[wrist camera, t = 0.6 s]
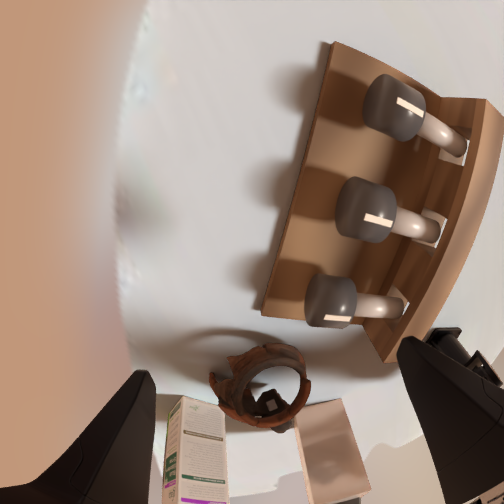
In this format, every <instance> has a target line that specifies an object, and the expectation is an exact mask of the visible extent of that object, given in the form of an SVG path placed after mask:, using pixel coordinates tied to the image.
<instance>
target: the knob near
mask: <svg viewBox="0 0 504 504" xmlns="http://www.w3.org/2000/svg"><path fill="white" fill-rule="evenodd" d="M362 115H363V121H364V123H365V125H366V126H367V127H369V128H371V129H374V130H376V131H378V132H381V133H383V134H385V135H387V136H390V137H392V138H394V139H396V140H398V141H401V142H405V141H408V140H410V139H412V138H413V137H414V136H415V135H416V134H417V135H419V136H421V137H423V138H424V139H426V140H428V141H430V142H431V143H433V144H435V145H437V146H438V147H440V148H442V149H443V150H445V151H446V152H448V153H450V154H451V155H453V156H454V157H456V158H459V157H462V156H463V155H464V154H465V152H466V149H467V142H466V139H465V138H464V137H463V136H461V135H460V134H459V133H457V132H456V131H454V130H453V129H452V128H450V127H449V126H447V125H446V124H444V123H443V122H441V121H440V120H438V119H437V118H435V117H434V116H432V115H430V114H429V113H427V112H426V104H425V99H424V97H423V95H422V94H421V93H420V92H419V91H417V90H415V89H414V88H412V87H410V86H408V85H407V84H405V83H403V82H401V81H400V80H398V79H396V78H394V77H392V76H390V75H388V74H382V75H380V76H378V77H377V78H376V79H375V80H374V81H373V82H372V83H371V85H370V87H369V88H368V90H367V93H366V95H365V98H364V102H363V109H362Z"/></svg>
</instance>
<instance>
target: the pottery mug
mask: <svg viewBox="0 0 504 504" xmlns="http://www.w3.org/2000/svg"><path fill="white" fill-rule="evenodd" d="M227 360H228V361H229V364H230V367H231V369H232V372H233V375H234V378H233V379H224V380H223V381H221V382H219V383H218V381H217V380H216V378H215V377H214V374H213V373H209V375H210V376H209V383H210V386H211V388H212V390H213V391H214V393H215V395H216V396H217V397H218V399H219V401H218V402H219V404H218V406H219V408H220V409H221V410H222V411H223V412H224V413H226V414H227V415H228V416H229V417H231V418H233V419H235V420H238V421H241V422H244V423H247V424H249V425H252V426H256V427H259V428H271V429H272V430H273V431H275V432H277V433H284V432H285V431H286V430H288V429H289V428H290V426H291V424H292V423H291V419H292V418H293V417H294V416H296V415H297V414H298V413H299V412H300V410H301V409H302V408H303V406H304V405H305V403H306V402H307V399H308V397H309V394H310V391H311V381H310V380H308V379H307V376H306V367H305V362H304V359H303V357H302V355H301V354H300V352H299V351H298V350H297V349H296V348H295V347H293V346H290V345H286V344H280V343H266V344H264V345H263V348H262V347H260V346H257V347H254V348H252V349H251V350H250V351H248V352H246V353H244V354H242V355H239V356H230V357H227ZM274 366H287V367H291V368H293V369H294V370H296V372H298V373H299V374H300V389H299V392H298V394H297V396H296V398H295V400H294V401H293V402H292V404H291V405H289V404H287V402H286V401H285V400H283V399H282V398H281V397H280V394H279V393H277V391H276V389H271V390H269V391H266V392H263V393H262V394H261V396H260V397H259V399H258V400H257V402H256V401H255V399H254V397H253V396H252V394H251V390H250V389H249V388H248V389H245V388H246V386H247V384H248V382H250V380H251V379H252V378H254V377H255V376H256V375H257V374H258V373H260V372H261V371H263V370H265V369H267V368H270V367H274ZM255 416H262V418H257V417H255Z"/></svg>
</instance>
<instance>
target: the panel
mask: <svg viewBox="0 0 504 504" xmlns="http://www.w3.org/2000/svg"><path fill="white" fill-rule="evenodd" d="M382 74H388V75H390V76H392V77H394V78H396V79H398V80H400V81H401V82H403V83H405V84H407V85H408V86H410V87H412V88H414V89H415V90H417V91H419V92H420V93H421V94H422V95H423V97H424V99H425V104H426V112H427V113H429V114H430V115H432V116H434V117H435V118H437V119H438V120H440V121H441V122H443V123H444V124H446V125H447V126H449V127H450V128H452V129H453V130H454V131H456V132H457V133H459V134H460V135H461V136H463V137H464V138H465V139H466V142H467V140H470V143H469V147H468V152H467V156H466V160H465V164H464V166H461V165H462V161H463V157H464V155H463V156H462V157H459V158H456V157H454V156H453V155H451V154H450V153H448V152H446V151H445V150H443V149H442V148H440V147H438V146H437V145H435V144H433V143H431V142H430V141H428V140H426V139H424V138H423V137H421V136H419V135H417V134H416V135H415V136H414V137H413V138H412V139H410V140H408V141H405V142H401V141H398V140H396V139H394V138H392V137H390V136H387V135H385V134H383V133H381V132H378V131H376V130H374V129H371V128H369V127H367V126H366V125H365V123H364V121H363V115H362V109H363V102H364V98H365V95H366V93H367V90H368V88H369V87H370V85H371V83H372V82H373V81H374V80H375V79H376V78H377V77H378V76H380V75H382ZM503 135H504V117H503V116H502V115H501V114H500V113H499V112H498V110H497V109H496V108H495V107H494V106H493V105H492V104H491V103H490V102H489V101H488V100H487V99H477V98H453V97H440V96H439V95H437V94H436V93H434V92H433V91H431V90H430V89H428V88H427V87H425V86H424V85H422V84H420V83H419V82H417V81H416V80H414V79H412V78H411V77H409V76H407V75H405V74H404V73H402V72H400V71H398V70H397V69H395V68H393V67H391V66H389V65H387V64H385V63H383V62H381V61H379V60H377V59H375V58H373V57H371V56H369V55H367V54H365V53H362V52H360V51H358V50H356V49H353V48H351V47H349V46H346V45H344V44H341V43H339V42H336V41H335V42H334V43H332V44H331V48H330V53H329V57H328V61H327V66H326V70H325V74H324V79H323V83H322V87H321V91H320V95H319V99H318V104H317V108H316V112H315V116H314V120H313V124H312V128H311V132H310V136H309V139H308V143H307V147H306V151H305V155H304V159H303V163H302V166H301V170H300V174H299V178H298V181H297V185H296V189H295V192H294V196H293V200H292V203H291V207H290V211H289V214H288V218H287V221H286V225H285V229H284V232H283V236H282V239H281V243H280V246H279V250H278V253H277V257H276V260H275V263H274V267H273V270H272V274H271V277H270V280H269V284H268V287H267V290H266V294H265V297H264V300H263V304H262V307H261V315H262V316H267V317H276V318H285V319H295V320H305V321H306V319H305V314H304V301H305V294H306V290H307V287H308V284H309V282H310V280H311V278H312V277H313V276H314V275H315V274H317V273H320V274H326V275H333V276H339V277H346V278H350V279H351V280H352V281H353V282H354V284H355V286H356V290H357V293H364V294H372V295H381V296H389V297H398V298H401V299H402V300H403V302H404V308H405V306H406V304H407V302H409V303H410V304H409V306H408V308H407V309H406V311H405V313H404V315H402V316H401V317H400V318H398V319H389V318H373V317H358V316H354V317H353V319H352V321H351V322H350V324H358V325H362V326H363V328H364V329H365V331H366V333H367V335H368V336H369V338H370V340H371V342H372V343H373V345H374V347H375V349H376V351H377V352H378V354H379V356H380V358H381V360H382V362H383V363H391V362H398V361H397V357H396V353H397V350H398V348H399V345H400V342H401V340H402V339H403V338H404V337H407V336H414V337H416V338H418V339H419V340H421V341H422V340H423V338H424V336H425V335H426V333H427V332H428V330H429V329H430V327H431V325H432V324H433V322H434V320H435V319H436V317H437V315H438V314H439V312H440V310H441V309H442V307H443V305H444V303H445V301H446V300H447V298H448V296H449V294H450V292H451V290H452V288H453V286H454V284H455V282H456V280H457V278H458V276H459V274H460V272H461V270H462V268H463V266H464V264H465V261H466V259H467V257H468V255H469V252H470V250H471V247H472V245H473V243H474V240H475V238H476V235H477V232H478V230H479V227H480V224H481V221H482V219H483V216H484V213H485V210H486V207H487V203H488V200H489V197H490V193H491V190H492V186H493V183H494V179H495V175H496V171H497V166H498V162H499V157H500V152H501V147H502V141H503ZM353 176H356V177H360V178H363V179H366V180H369V181H371V182H374V183H377V184H380V185H383V186H385V187H388V188H390V189H391V190H392V191H393V193H394V195H395V198H396V202H397V206H398V207H400V208H403V209H406V210H409V211H412V212H414V213H417V214H420V215H423V216H425V217H428V218H430V219H433V220H436V221H437V222H438V223H439V224H440V228H442V225H443V222H444V220H445V218H447V219H448V220H447V222H446V225H445V228H444V230H443V233H442V235H441V238H440V240H439V243H438V245H437V248H434V245H435V243H436V242H435V243H432V244H431V243H427V242H424V241H421V240H417V239H414V238H410V237H407V236H404V235H400V234H396V233H393V232H390V234H389V235H388V236H387V237H386V238H385V239H384V240H383V241H382V242H380V243H372V242H367V241H363V240H359V239H354V238H350V237H345V236H342V235H340V234H339V233H338V231H337V229H336V225H335V208H336V203H337V199H338V196H339V193H340V191H341V189H342V187H343V185H344V184H345V182H346V181H347V180H348V179H349V178H351V177H353Z"/></svg>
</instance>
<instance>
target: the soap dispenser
mask: <svg viewBox="0 0 504 504" xmlns="http://www.w3.org/2000/svg"><path fill="white" fill-rule="evenodd" d="M294 430H295V435H296V440H297V445H298V450H299V455H300V460H301V465H302V470H303V475H304V480H305V485H306V490H307V496H308V501H309V504H361V497H362V496H364V495H365V494H366V493H368V492H369V491H370V490H371V487H370V483H369V480H368V477H367V474H366V471H365V468H364V465H363V461H362V458H361V455H360V452H359V449H358V446H357V443H356V440H355V437H354V434H353V431H352V428H351V425H350V422H349V419H348V416H347V414H346V411H345V408H344V405H343V402H342V399H337V400H332V401H328V402H324V403H319V404H315V405H310V406H305V407H303V408H302V409H301V410H300V412H299V413H298V414H297V415H296V416H294Z"/></svg>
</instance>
